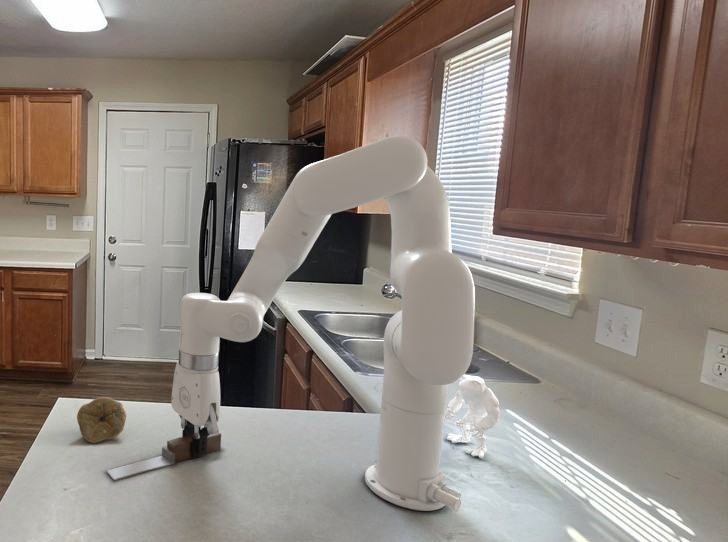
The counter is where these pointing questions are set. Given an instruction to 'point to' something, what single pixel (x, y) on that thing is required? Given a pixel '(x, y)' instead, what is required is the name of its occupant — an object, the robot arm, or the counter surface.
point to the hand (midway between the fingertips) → (194, 451)
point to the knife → (166, 456)
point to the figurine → (474, 412)
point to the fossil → (101, 419)
